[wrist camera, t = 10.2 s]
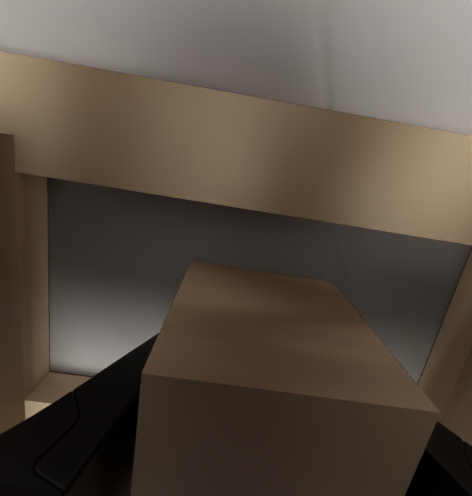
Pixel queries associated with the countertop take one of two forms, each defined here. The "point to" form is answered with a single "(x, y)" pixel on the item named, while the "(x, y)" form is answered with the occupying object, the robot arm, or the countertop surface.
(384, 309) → the countertop surface
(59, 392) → the puzzle board
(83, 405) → the robot arm
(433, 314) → the countertop surface
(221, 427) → the walnut block
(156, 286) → the countertop surface
